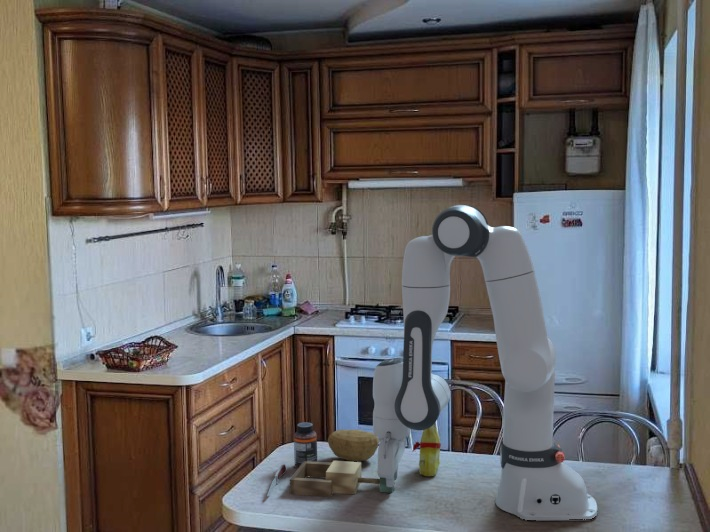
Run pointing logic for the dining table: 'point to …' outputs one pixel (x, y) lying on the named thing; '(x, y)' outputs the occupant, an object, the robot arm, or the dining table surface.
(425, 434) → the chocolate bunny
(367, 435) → the potato
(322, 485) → the tan piece
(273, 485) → the knife
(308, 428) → the supplement bottle
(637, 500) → the dining table surface
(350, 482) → the oak block with dowel handle
